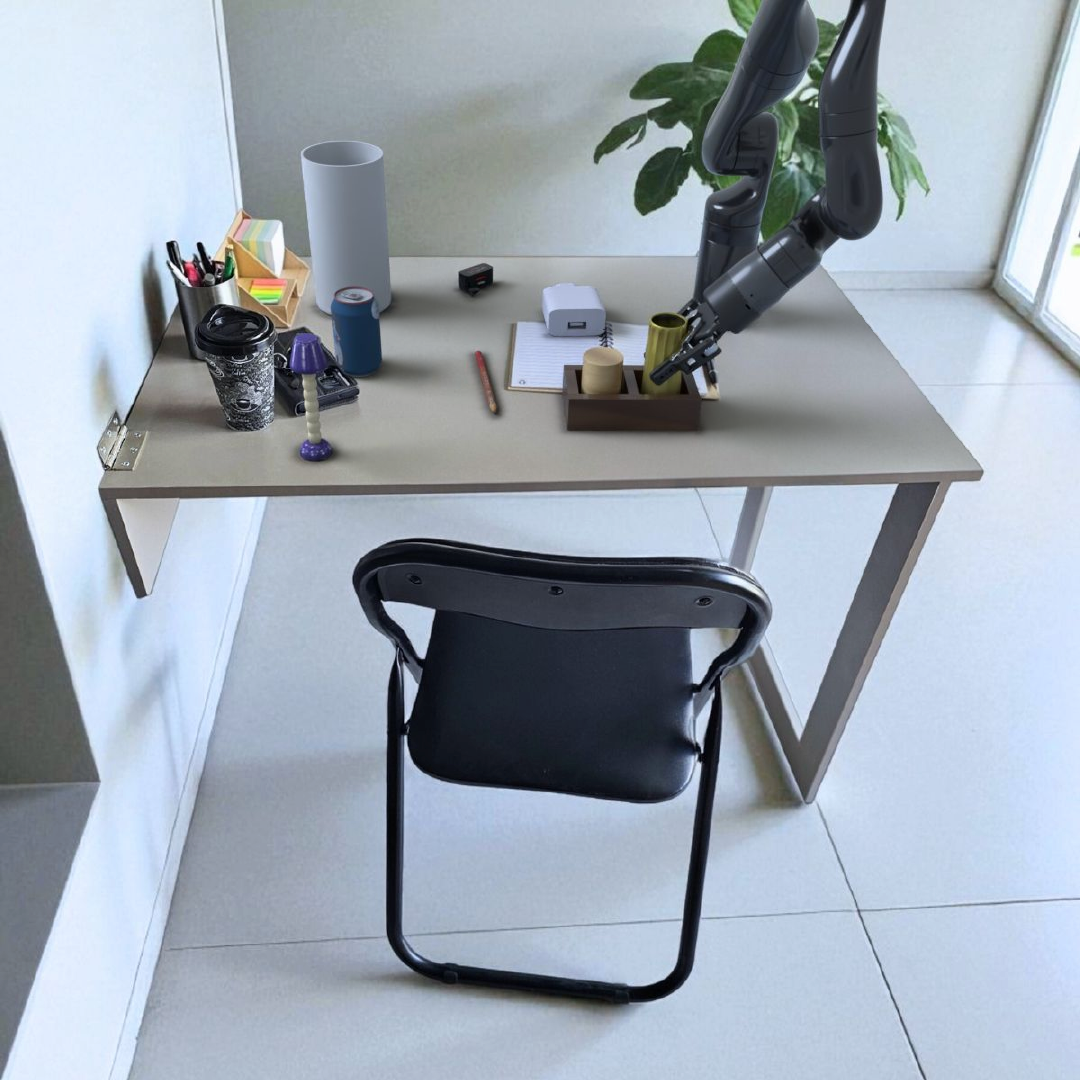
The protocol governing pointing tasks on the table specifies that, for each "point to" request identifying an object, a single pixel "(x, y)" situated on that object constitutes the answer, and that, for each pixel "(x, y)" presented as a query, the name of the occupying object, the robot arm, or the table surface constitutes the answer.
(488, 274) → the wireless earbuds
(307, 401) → the toy lamp
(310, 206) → the cylinder vase
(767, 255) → the robot arm
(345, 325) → the soda can
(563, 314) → the charger
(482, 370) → the pencil
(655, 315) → the vase
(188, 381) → the table surface
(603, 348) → the peg
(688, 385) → the rack
